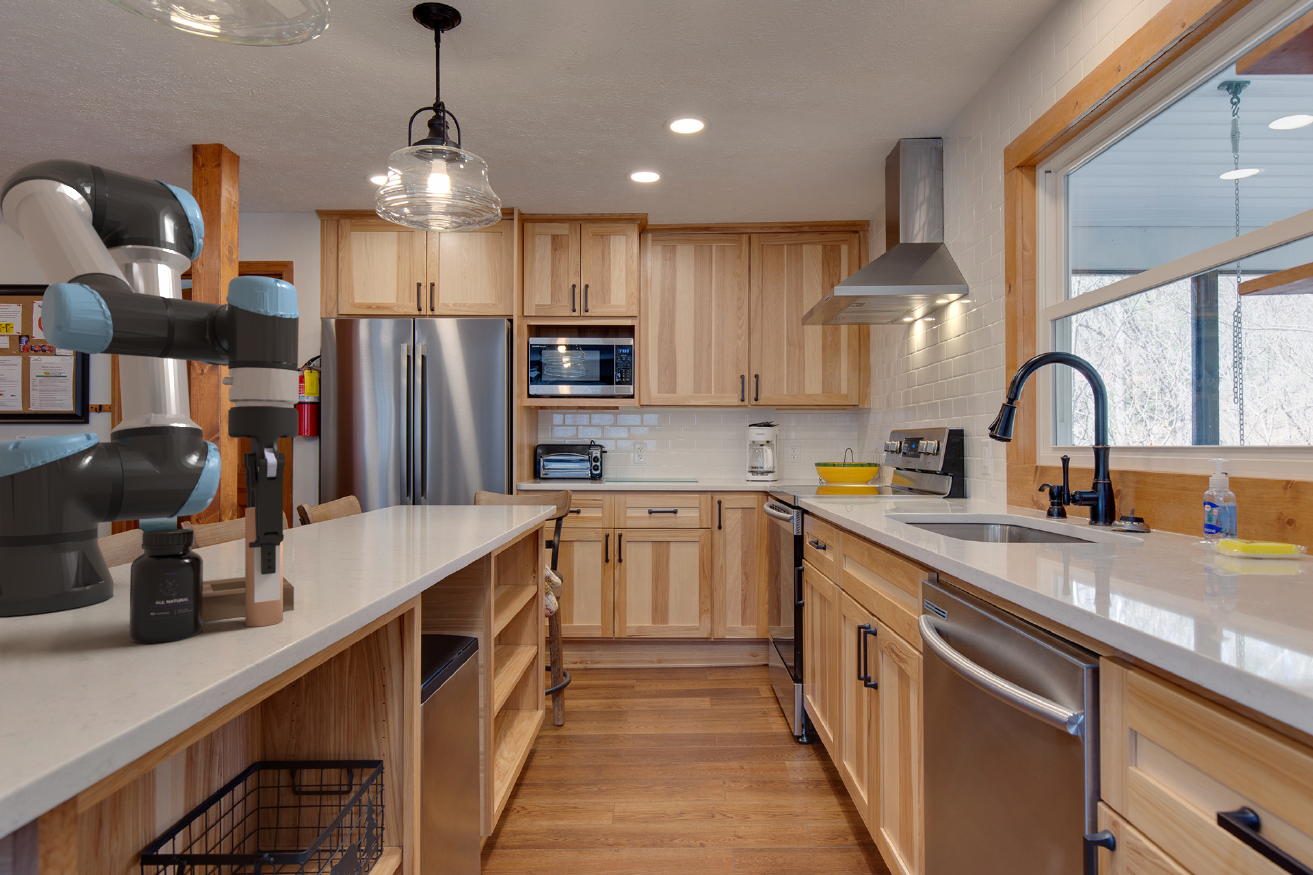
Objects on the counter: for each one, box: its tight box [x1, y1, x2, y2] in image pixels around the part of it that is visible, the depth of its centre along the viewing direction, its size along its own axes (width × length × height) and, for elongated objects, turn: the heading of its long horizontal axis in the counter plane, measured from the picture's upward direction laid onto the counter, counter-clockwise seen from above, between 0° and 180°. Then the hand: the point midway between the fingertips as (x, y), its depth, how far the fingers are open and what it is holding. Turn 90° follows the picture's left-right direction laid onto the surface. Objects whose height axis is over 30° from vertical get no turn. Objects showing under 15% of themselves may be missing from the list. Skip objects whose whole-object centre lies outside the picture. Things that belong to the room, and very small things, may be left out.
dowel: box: [244, 507, 284, 627], centre depth 86 cm, size 4×4×14 cm
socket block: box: [202, 576, 295, 623], centre depth 93 cm, size 12×12×3 cm
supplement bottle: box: [129, 528, 204, 644], centre depth 80 cm, size 7×7×12 cm
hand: (264, 596), depth 86 cm, fingers closed on dowel, 4 cm apart
